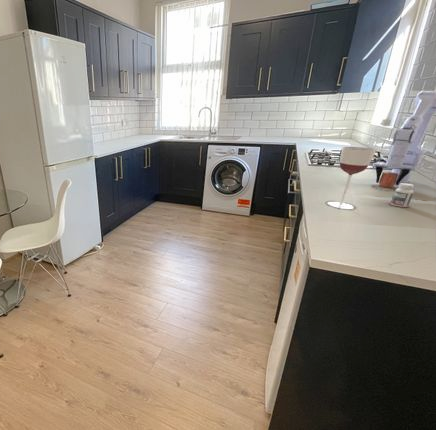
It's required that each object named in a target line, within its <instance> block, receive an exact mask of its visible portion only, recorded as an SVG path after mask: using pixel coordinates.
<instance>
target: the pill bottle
mask: <svg viewBox="0 0 436 430" xmlns="http://www.w3.org/2000/svg"><path fill="white" fill-rule="evenodd" d="M414 187H415V185H414V184H412V183H409V182H408V183H399V184H398V187H397V188H396V189H395V190H394V192H393V195H392V198H391V201H390V205H391V206H395V207H399V208H408V207H409V205H410V204H411V203H410V202H411V200H412V198H413V195H414V190H413V189H414Z"/></svg>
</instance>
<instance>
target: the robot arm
mask: <svg viewBox="0 0 436 430" xmlns="http://www.w3.org/2000/svg"><path fill="white" fill-rule="evenodd" d="M414 108H415V109H414V112H413V113H412V115H409V116H408V117H407V118H406V120H405V121H404V123H403V124H402V125H401V127H400V128H399V129H396V130H395V132H394V134H393V137H392V142H391V148H390V151H389V154H388V156H387V158H386V161H385V162H373V163H372V166H371V167H372V168H374V169H375V173H376V180H375V183H376V184H379V181H380V178H381V176H382V173H383V172H384V170H383V169H390V170H391V172H393V173H397V174H398V177H397V179H396V182H395V185H394V186H399V185H400V183H408V184H409V181H410V178H411V176H412V173H413V172H415V169H416V167H418V166H419V165H420V164H421V162H422V160H423V157H424V154H425V152H424V150H423V149H422V148H421V147H420V145H421V143H422V141H423V139H424V137H425V134H426V133H427V130H428V128H429V126H430V123H431V121H432V120H433V118H434V116H435V115H436V90H434V91H431V90H429V91H423V90H421V91H420V92H418V93H417V95H416V96H415V100H414Z"/></svg>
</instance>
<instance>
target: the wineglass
mask: <svg viewBox="0 0 436 430" xmlns="http://www.w3.org/2000/svg"><path fill="white" fill-rule="evenodd" d="M376 150H377V149H375V148H371V147H361V146H342V148H341V153H340V157H339V167H340V169H341V170H342V171H343V172H345V173H346V174H347V175H348V176H347V179H346V183H345V184H344V185H345V186H344V188H343V191H342V194H341V198H340V201H329V202H327V205H329V206H330V207H333V208H335V209H336V208H337V209H342V210H353V209H355V208H354V206H353V205H351V204H349V203H345V202H344V201H345V197H346V194H347V191H348V188H349V185H350V181H351V179H352V176H353V175H356V174H360V173H362V172H364V171H365V170H366V169H367V168H368V167H369V165H370V163H371V162H372V159H373V158H374V156H375V153H376V152H377V151H376Z"/></svg>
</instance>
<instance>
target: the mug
mask: <svg viewBox="0 0 436 430" xmlns="http://www.w3.org/2000/svg"><path fill="white" fill-rule="evenodd" d="M397 177H398V174H397V173H393V172H392V171H382V173H381V176H380V179H379V182H378V183H377V186H378V187H381V188H387V189H393V188H394V187H395V186H396V185H395V183H396V179H397Z"/></svg>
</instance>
